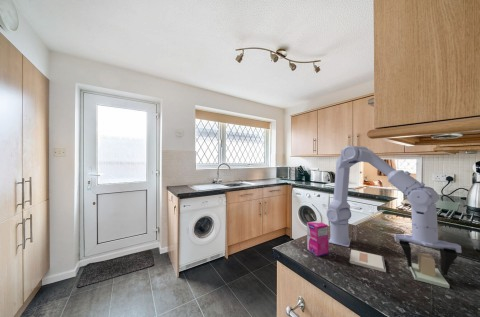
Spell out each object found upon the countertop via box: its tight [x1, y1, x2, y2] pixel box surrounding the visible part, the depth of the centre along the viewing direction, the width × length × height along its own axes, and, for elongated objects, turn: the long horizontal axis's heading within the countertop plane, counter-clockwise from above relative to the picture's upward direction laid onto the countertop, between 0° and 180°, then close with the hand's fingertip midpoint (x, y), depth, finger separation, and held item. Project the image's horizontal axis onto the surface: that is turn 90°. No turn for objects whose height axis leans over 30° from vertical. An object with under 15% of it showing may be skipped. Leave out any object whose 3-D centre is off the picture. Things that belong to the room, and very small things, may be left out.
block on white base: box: [409, 251, 450, 289], centre depth 56 cm, size 10×7×6 cm
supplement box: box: [306, 220, 330, 257], centre depth 72 cm, size 6×6×12 cm
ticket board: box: [349, 249, 387, 273], centre depth 65 cm, size 10×10×1 cm
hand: (426, 269), depth 56 cm, fingers open, 7 cm apart
